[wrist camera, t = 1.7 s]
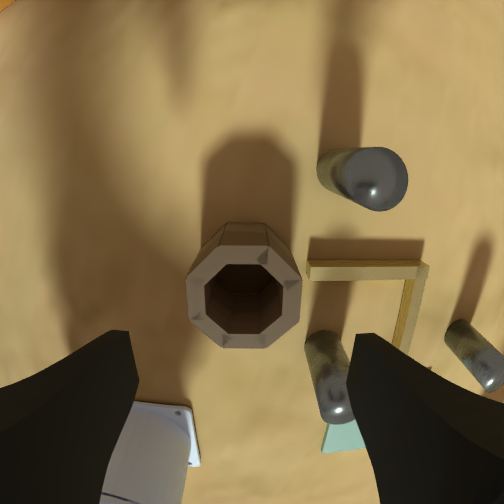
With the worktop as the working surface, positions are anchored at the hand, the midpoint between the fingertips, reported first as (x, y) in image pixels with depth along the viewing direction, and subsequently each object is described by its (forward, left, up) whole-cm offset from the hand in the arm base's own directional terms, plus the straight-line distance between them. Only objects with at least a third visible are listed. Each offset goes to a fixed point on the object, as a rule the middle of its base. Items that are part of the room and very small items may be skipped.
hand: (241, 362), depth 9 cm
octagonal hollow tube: (0, 0, -9) cm, 9 cm away
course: (+10, 0, -9) cm, 14 cm away
